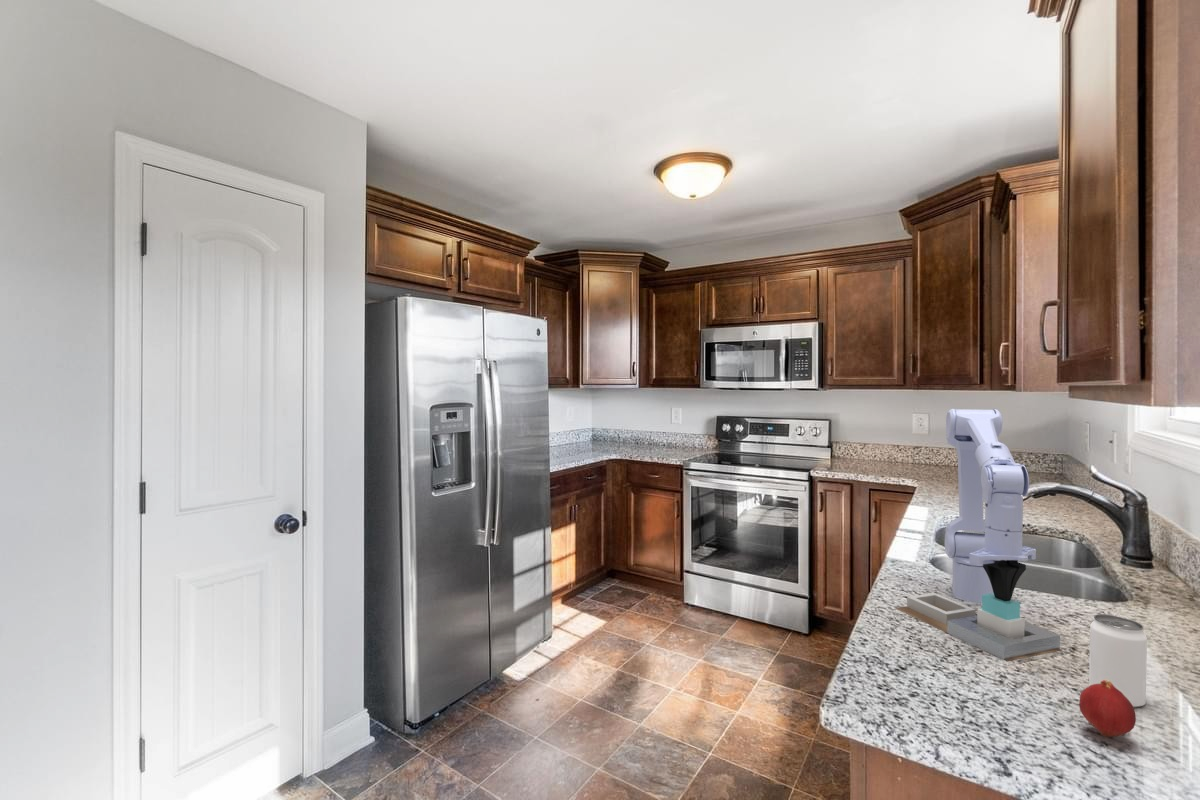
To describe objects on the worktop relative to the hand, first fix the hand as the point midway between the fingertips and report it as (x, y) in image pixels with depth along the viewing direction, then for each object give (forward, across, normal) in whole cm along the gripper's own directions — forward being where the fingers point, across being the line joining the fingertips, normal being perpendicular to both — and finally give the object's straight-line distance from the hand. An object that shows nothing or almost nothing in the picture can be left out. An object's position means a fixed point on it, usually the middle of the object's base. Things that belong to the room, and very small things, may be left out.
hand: (1002, 599), depth 102 cm
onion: (+9, -13, -24) cm, 29 cm away
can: (+9, 0, -18) cm, 20 cm away
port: (+9, 0, 0) cm, 9 cm away
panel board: (+9, 0, +6) cm, 11 cm away
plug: (+8, 0, 0) cm, 8 cm away
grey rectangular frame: (+9, 0, +13) cm, 16 cm away
